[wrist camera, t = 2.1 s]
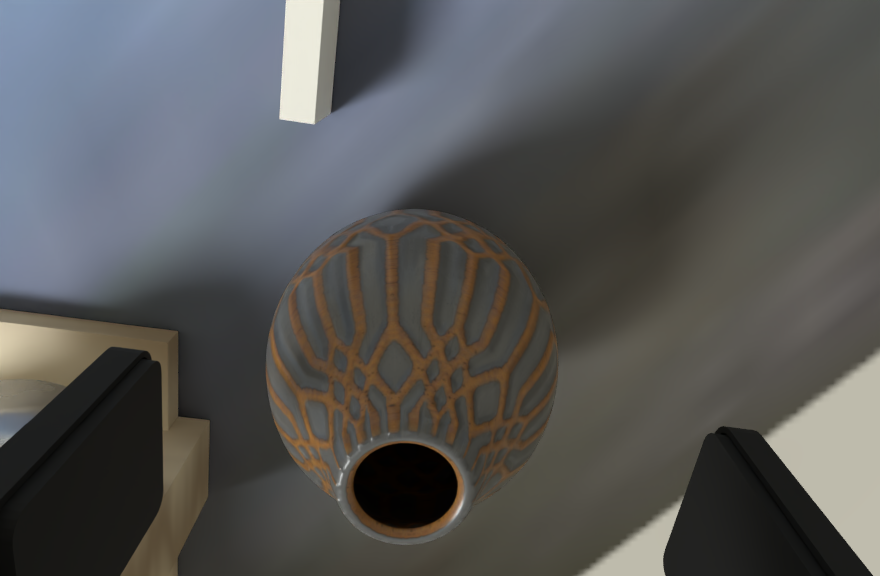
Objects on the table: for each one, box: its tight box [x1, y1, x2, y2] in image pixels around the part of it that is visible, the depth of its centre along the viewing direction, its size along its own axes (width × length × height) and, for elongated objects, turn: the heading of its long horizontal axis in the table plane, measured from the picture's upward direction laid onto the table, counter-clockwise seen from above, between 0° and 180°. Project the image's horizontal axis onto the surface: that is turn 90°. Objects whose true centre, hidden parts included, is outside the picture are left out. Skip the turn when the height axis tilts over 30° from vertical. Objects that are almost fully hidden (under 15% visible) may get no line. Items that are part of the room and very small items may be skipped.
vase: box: [266, 209, 558, 545], centre depth 15 cm, size 7×7×9 cm
